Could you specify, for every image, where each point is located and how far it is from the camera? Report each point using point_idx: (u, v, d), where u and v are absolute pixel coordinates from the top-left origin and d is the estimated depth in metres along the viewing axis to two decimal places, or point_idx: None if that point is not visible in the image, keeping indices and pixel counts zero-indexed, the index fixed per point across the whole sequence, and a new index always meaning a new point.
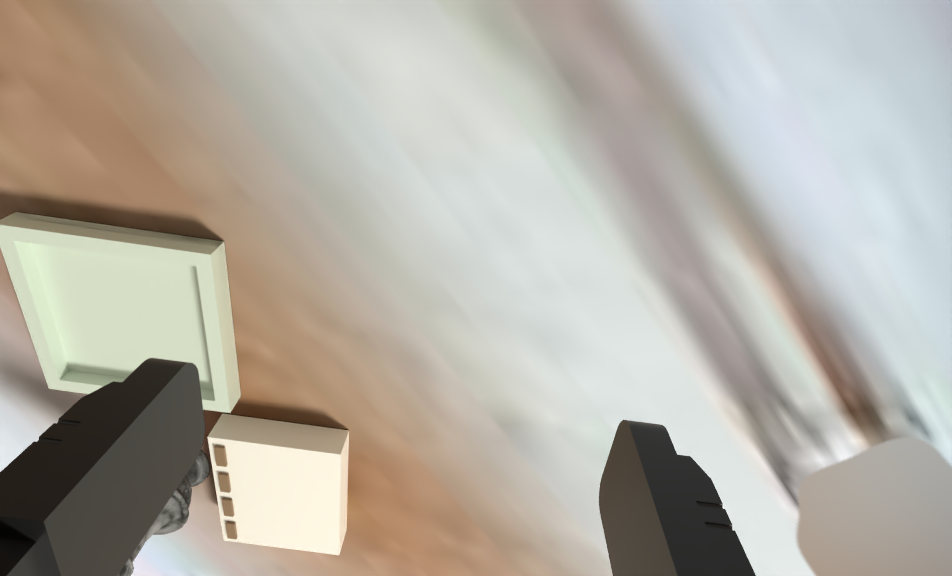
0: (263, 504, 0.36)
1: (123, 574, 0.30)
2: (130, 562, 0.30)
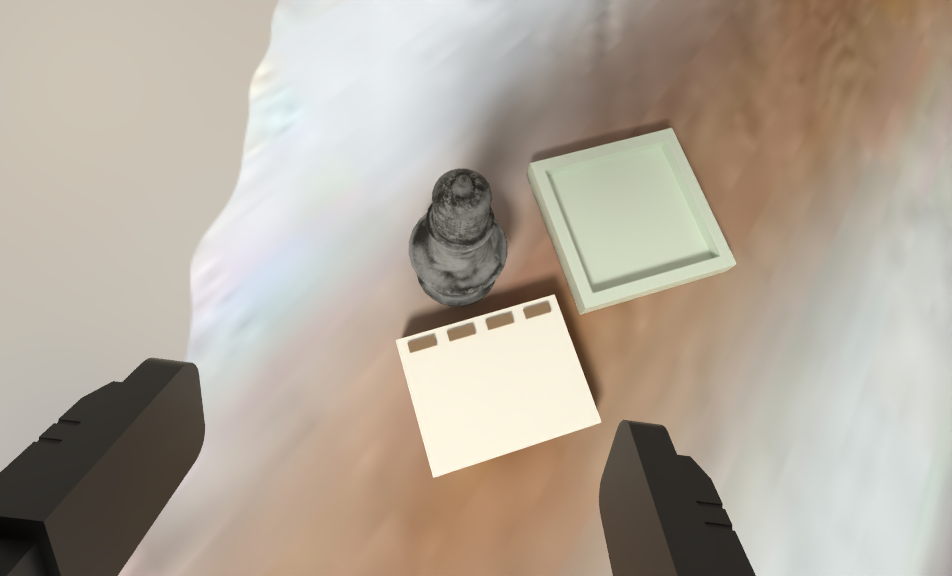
0: (482, 366, 0.32)
1: (459, 243, 0.28)
2: (475, 248, 0.28)
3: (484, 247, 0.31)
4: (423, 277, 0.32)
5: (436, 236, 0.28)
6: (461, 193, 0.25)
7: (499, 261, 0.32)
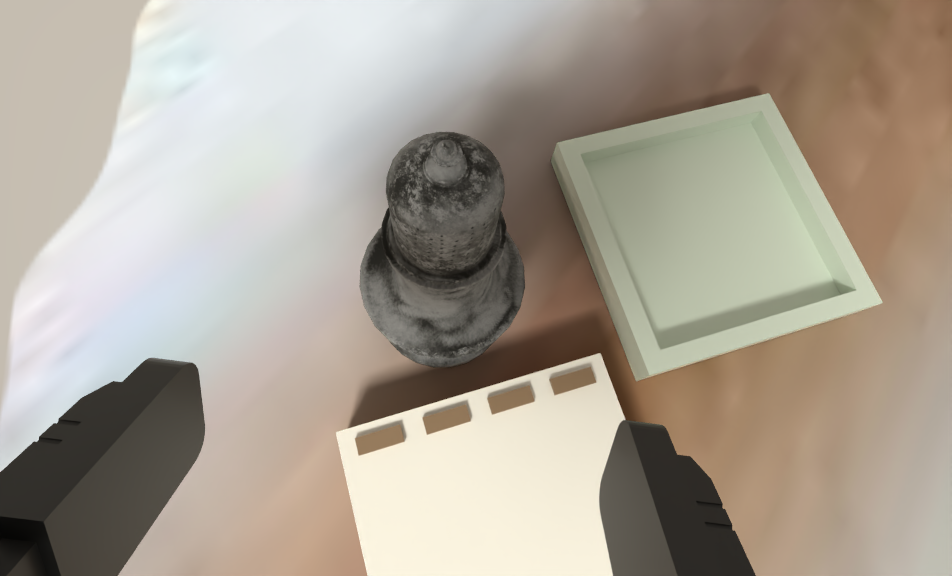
0: (481, 479, 0.19)
1: (441, 276, 0.15)
2: (472, 284, 0.15)
3: (487, 278, 0.18)
4: (382, 327, 0.19)
5: (398, 262, 0.15)
6: (443, 179, 0.12)
7: (511, 300, 0.19)
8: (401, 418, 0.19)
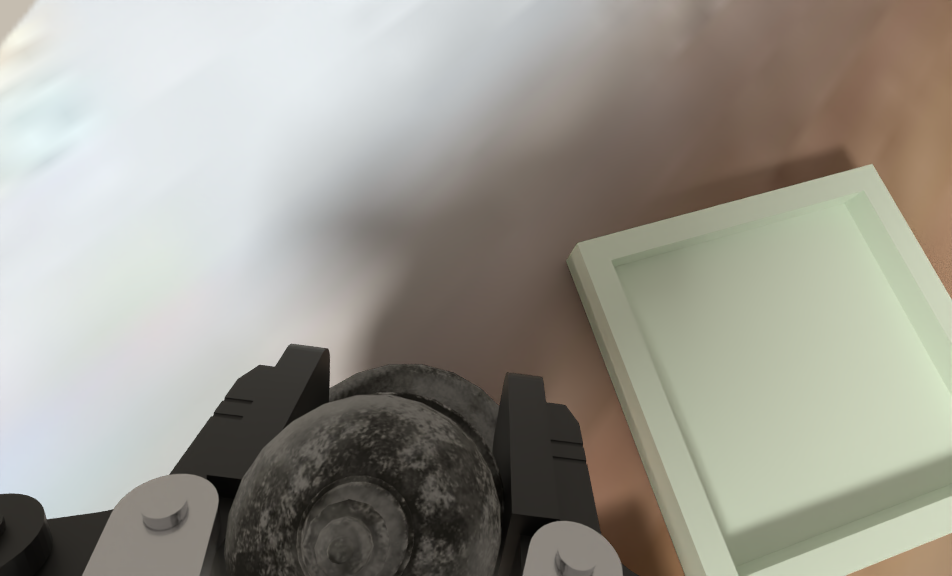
0: None
1: None
2: None
3: None
4: None
5: None
6: None
7: None
8: None
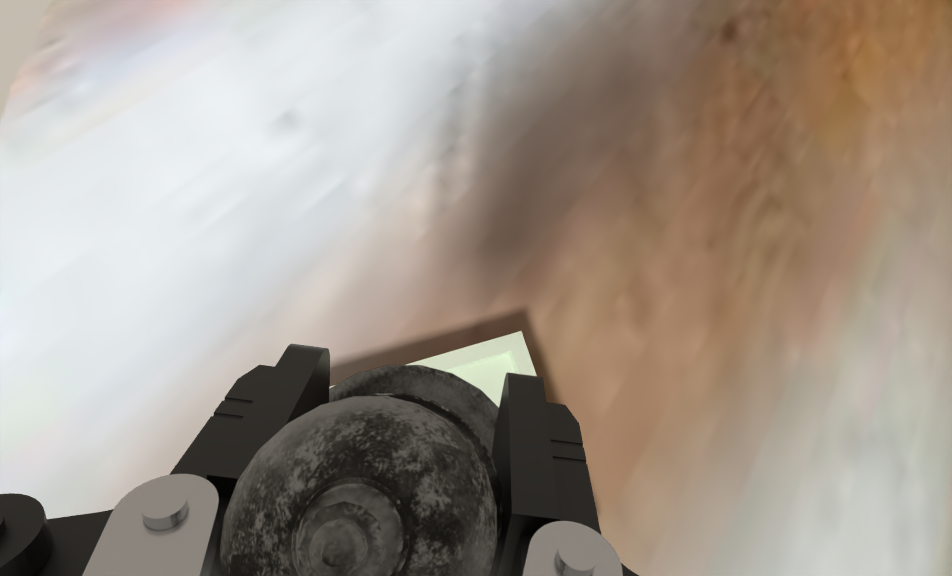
0: None
1: None
2: None
3: None
4: None
5: None
6: None
7: None
8: None
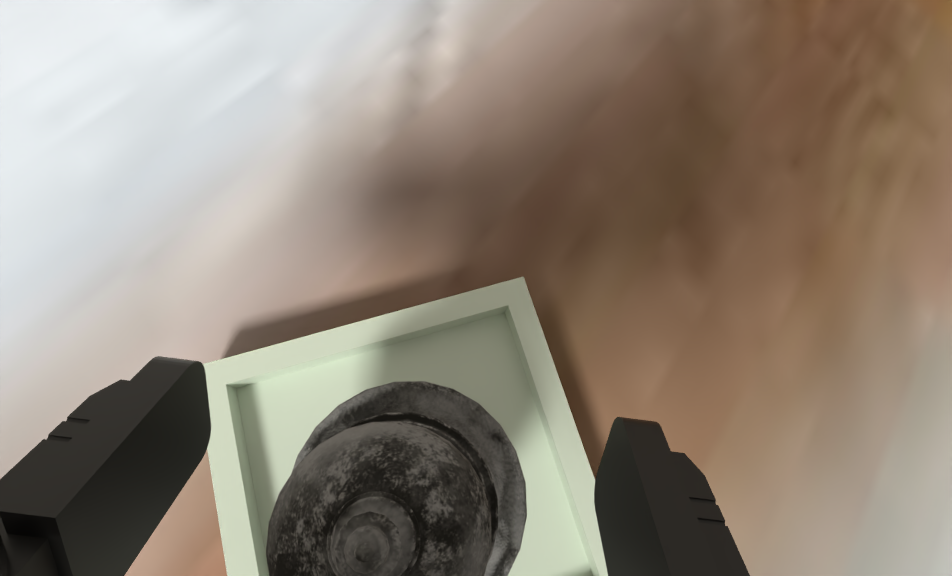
0: None
1: None
2: None
3: None
4: None
5: None
6: None
7: (508, 540, 0.13)
8: None
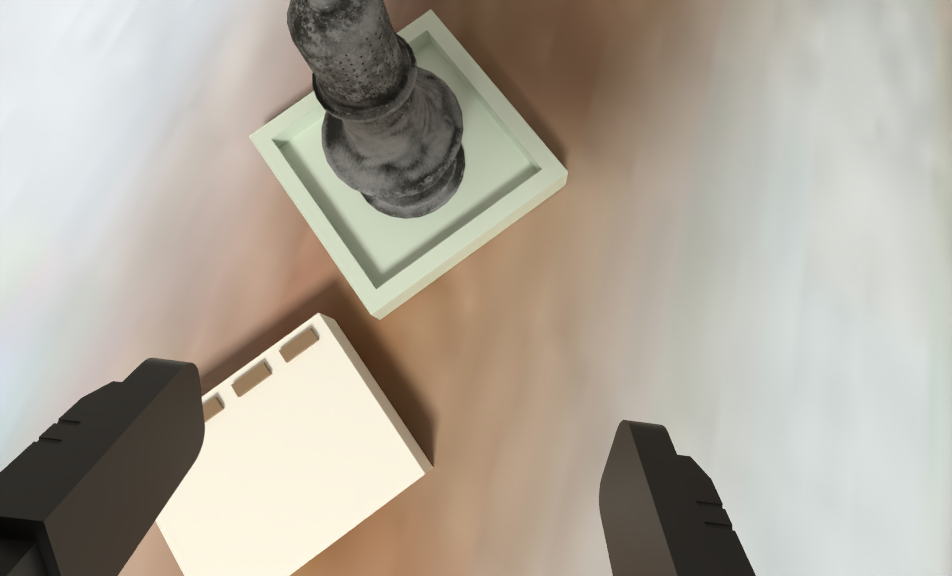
0: (244, 451, 0.22)
1: (372, 105, 0.18)
2: (400, 104, 0.18)
3: (422, 108, 0.21)
4: (357, 186, 0.22)
5: (335, 109, 0.18)
6: (326, 4, 0.15)
7: (454, 125, 0.22)
8: None
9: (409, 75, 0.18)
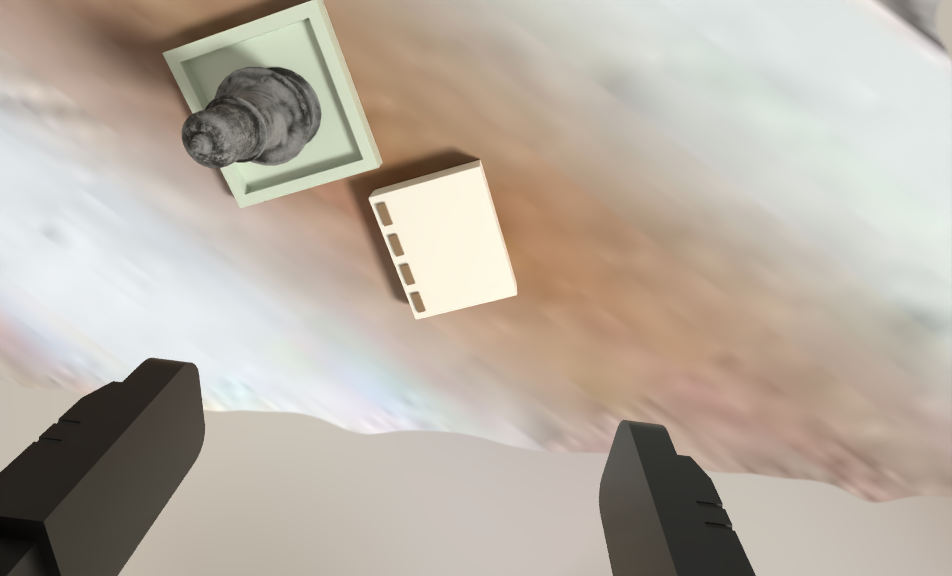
0: (434, 259, 0.40)
1: (258, 132, 0.30)
2: (260, 114, 0.30)
3: (257, 96, 0.31)
4: (297, 152, 0.34)
5: (255, 154, 0.30)
6: (209, 145, 0.27)
7: (268, 76, 0.32)
8: (408, 293, 0.41)
9: (242, 103, 0.29)
